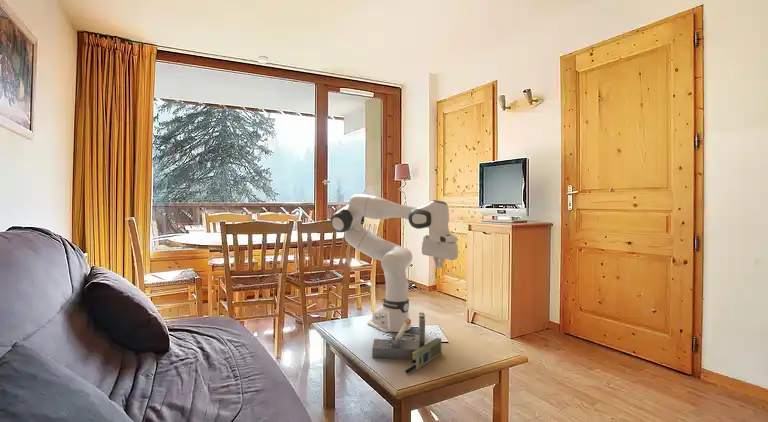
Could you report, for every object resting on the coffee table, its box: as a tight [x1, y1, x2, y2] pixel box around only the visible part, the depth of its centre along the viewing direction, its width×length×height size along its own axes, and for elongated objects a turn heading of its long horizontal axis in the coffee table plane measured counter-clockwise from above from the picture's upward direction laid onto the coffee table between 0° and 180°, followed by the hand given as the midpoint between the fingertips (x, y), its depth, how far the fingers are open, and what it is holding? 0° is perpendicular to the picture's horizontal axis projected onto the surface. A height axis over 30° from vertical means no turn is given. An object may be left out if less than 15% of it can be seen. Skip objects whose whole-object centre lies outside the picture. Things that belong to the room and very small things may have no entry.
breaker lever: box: [395, 317, 412, 343], centre depth 167 cm, size 3×3×12 cm
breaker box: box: [371, 312, 426, 360], centre depth 168 cm, size 21×10×17 cm, turn 87°
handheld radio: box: [405, 337, 442, 374], centre depth 159 cm, size 7×3×25 cm
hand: (438, 267), depth 182 cm, fingers closed
